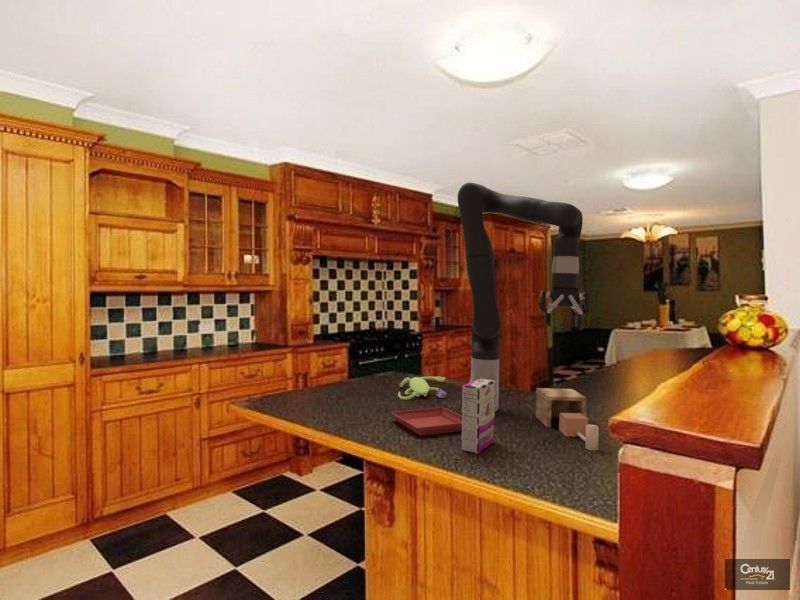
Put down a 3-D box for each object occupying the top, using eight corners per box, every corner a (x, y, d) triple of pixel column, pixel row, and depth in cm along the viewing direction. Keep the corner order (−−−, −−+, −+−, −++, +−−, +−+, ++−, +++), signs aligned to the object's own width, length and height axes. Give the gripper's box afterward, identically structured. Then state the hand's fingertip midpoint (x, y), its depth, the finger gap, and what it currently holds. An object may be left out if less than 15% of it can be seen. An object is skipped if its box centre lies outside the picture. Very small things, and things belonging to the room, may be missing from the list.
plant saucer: (390, 422, 142) (390, 411, 142) (442, 416, 149) (442, 406, 149) (416, 440, 125) (417, 427, 125) (474, 433, 133) (474, 421, 133)
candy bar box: (477, 438, 126) (478, 377, 126) (494, 442, 124) (496, 380, 123) (459, 450, 117) (461, 384, 116) (478, 454, 114) (480, 387, 114)
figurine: (444, 387, 195) (445, 373, 194) (449, 402, 168) (449, 387, 168) (400, 386, 195) (400, 372, 195) (397, 401, 169) (397, 385, 168)
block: (581, 451, 118) (582, 427, 118) (559, 430, 136) (559, 409, 136) (605, 451, 118) (606, 428, 118) (579, 430, 136) (580, 409, 136)
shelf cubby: (546, 427, 139) (547, 396, 139) (535, 416, 151) (536, 388, 151) (585, 428, 139) (586, 397, 139) (571, 417, 151) (572, 389, 151)
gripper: (544, 270, 137) (542, 326, 137) (594, 272, 137) (591, 328, 137) (537, 271, 144) (535, 324, 145) (584, 273, 144) (582, 326, 145)
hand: (562, 326), depth 141 cm, fingers open, 8 cm apart
